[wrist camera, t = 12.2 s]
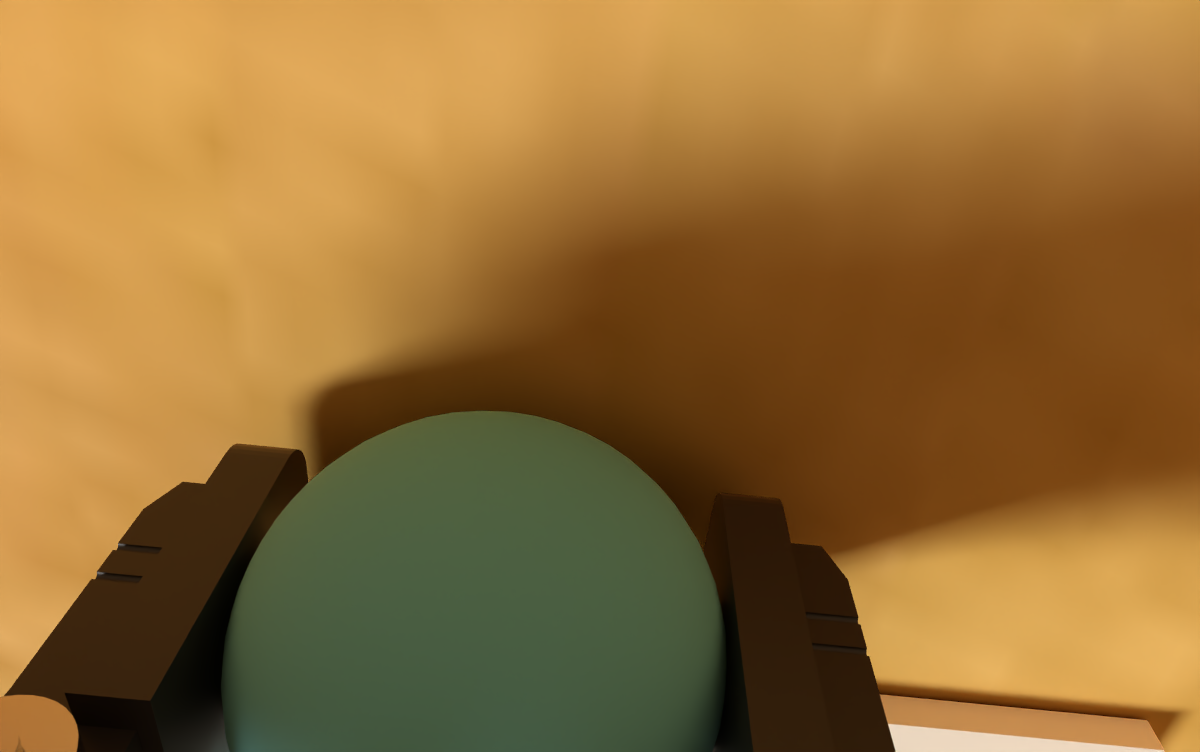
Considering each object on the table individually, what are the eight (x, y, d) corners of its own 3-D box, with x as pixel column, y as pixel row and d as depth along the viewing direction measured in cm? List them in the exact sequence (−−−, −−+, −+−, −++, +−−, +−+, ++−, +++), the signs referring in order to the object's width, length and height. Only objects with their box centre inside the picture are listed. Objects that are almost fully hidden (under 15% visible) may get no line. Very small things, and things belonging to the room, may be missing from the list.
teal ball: (742, 347, 10) (819, 731, 6) (679, 649, 13) (700, 1066, 8) (301, 304, 10) (43, 656, 6) (330, 616, 12) (170, 1018, 8)
